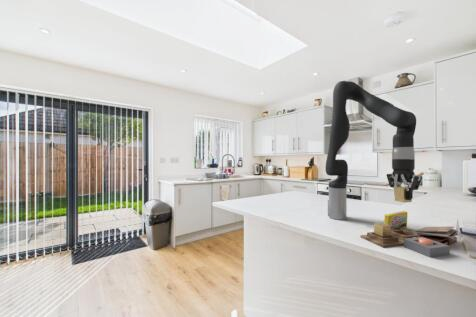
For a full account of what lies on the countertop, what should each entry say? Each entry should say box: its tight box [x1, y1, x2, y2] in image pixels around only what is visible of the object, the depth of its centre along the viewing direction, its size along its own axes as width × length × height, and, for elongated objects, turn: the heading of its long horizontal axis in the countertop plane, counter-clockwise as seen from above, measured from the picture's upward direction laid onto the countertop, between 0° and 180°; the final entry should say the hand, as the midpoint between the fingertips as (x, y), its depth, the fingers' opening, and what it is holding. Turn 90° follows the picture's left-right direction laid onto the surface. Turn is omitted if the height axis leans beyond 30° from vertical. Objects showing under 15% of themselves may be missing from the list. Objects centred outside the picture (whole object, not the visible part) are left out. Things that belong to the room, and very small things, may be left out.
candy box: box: [383, 210, 408, 230], centre depth 99 cm, size 16×2×8 cm, turn 117°
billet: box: [394, 185, 413, 203], centre depth 89 cm, size 4×4×6 cm
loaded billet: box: [373, 222, 391, 238], centre depth 87 cm, size 4×4×6 cm
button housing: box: [403, 236, 451, 258], centre depth 77 cm, size 9×9×3 cm
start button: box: [419, 237, 434, 246], centre depth 77 cm, size 4×4×4 cm
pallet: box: [360, 229, 421, 248], centre depth 88 cm, size 11×22×2 cm, turn 103°
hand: (403, 198), depth 89 cm, fingers closed on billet, 4 cm apart
